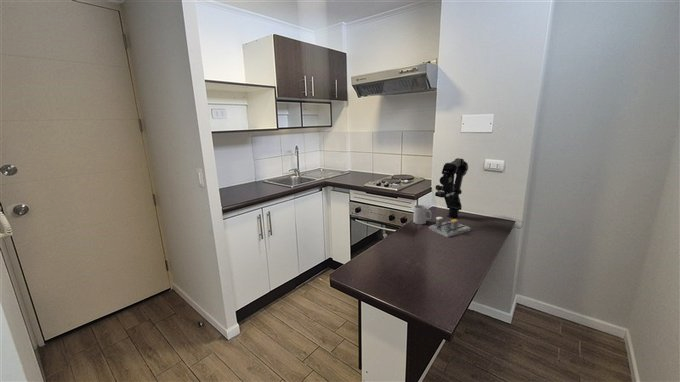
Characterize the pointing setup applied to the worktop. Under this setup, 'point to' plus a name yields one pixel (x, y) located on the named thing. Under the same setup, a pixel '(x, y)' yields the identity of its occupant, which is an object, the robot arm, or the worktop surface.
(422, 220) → the mug
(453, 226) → the orange fader
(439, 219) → the cream fader
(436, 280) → the worktop surface
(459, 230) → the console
